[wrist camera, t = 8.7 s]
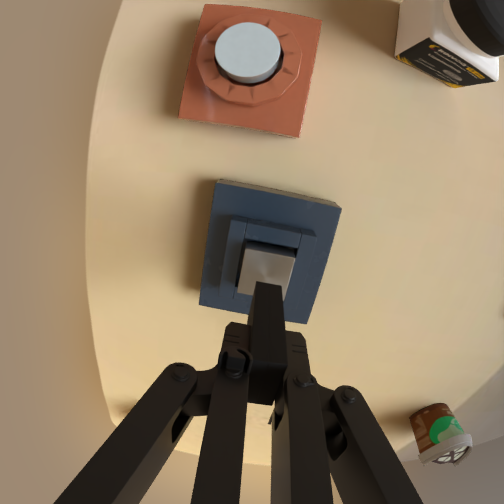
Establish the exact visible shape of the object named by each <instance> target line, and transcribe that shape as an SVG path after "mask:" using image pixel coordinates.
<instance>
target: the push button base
mask: <svg viewBox="0 0 504 504" xmlns="http://www.w3.org/2000/svg"><path fill="white" fill-rule="evenodd" d="M341 210H342V208H340V207H339V206H338V205H337V204H336V203H335V202H331V201H327V200H323V199H318V198H314V197H310V196H305V195H301V194H296V193H291V192H287V191H282V190H277V189H272V188H267V187H262V186H257V185H252V184H246V183H241V182H236V181H230V180H224V179H220V180H219V181H217V182H216V183H215V189H214V195H213V201H212V208H211V215H210V221H209V228H208V235H207V242H206V250H205V257H204V265H203V273H202V281H201V289H200V297H199V305H202V306H207V307H212V308H217V309H222V310H227V311H232V312H237V313H242V314H248V315H249V311H250V307H251V302H252V298H253V295H248V294H243V293H238V292H237V290H238V284H239V279H240V274H241V268H242V263H243V258H244V253H245V248H246V243H247V241H252V242H257V243H262V244H267V245H272V246H278V247H283V248H288V249H293V250H294V255H295V262H294V266H293V270H292V273H291V277H290V281H289V284H288V288H287V292H286V295H285V299H284V301H283V306H284V318H285V321H288V322H295V323H301V324H307V322H308V319H309V316H310V313H311V310H312V307H313V304H314V301H315V298H316V295H317V292H318V289H319V286H320V283H321V279H322V276H323V273H324V270H325V266H326V263H327V260H328V256H329V253H330V250H331V246H332V243H333V239H334V236H335V232H336V228H337V225H338V221H339V217H340V214H341Z"/></svg>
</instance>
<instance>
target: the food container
mask: <svg viewBox="0 0 504 504" xmlns="http://www.w3.org/2000/svg"><path fill="white" fill-rule="evenodd" d="M409 419H410V422H411V426H412V429H413V432H414V435H415V439H416V442H417V445H418V449H419V452H420V454H419V455H418V456H419V458H420V460H421V462H422V463H423V465H424V466H425V465H427V464H428V463H430V462H435V463H439V464H443V463H447V462H449V463H453V464H454V466H455V467H456V466H457V465H458V464H459V463H461V462H462V461H463V460H464V459H465V458H466V457H467V456H468V455H469V454H470V453H471V451H472V439H471V435H470V434H465V433H464V432H463V430H462V428H461V427H460V425H459V423H458V422H457V420H456V419H455V417H454V415H453V414H452V412H451V411H450V409H449V407H448V406H447V405H446V404H444V403H438V404H433V405H431V406H428V407H426V408H424V409H422V410H420V411H418V412H417V413H415V414H414V415H412V416H411V417H410V418H409Z"/></svg>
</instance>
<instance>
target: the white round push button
mask: <svg viewBox="0 0 504 504" xmlns="http://www.w3.org/2000/svg"><path fill="white" fill-rule="evenodd" d="M215 56H216V59H217V62H218V63H219V65H220V66H221V68H222V70H223V71H224V73H225V74H226V75H227V76H228V77H230V78H231V79H233V80H235V81H238V82H241V83H256V82H260V81H263V80H265V79H266V78H268V77H269V76H270V75H272V74H273V72H274V71H275V70H276V68H277V66H278V63H279V57H280V43H279V40H278V38H277V36H276V35H275V34H274V33H273V32H272V31H271V30H270V29H269V28H267V27H265V26H263V25H261V24H257V23H250V22H247V23H239V24H236V25H233V26H231V27H229V28H228V29H226V30H225V31H224V32H223V33H222V34H221V35H220V36H219V38H218V40H217V42H216V45H215Z"/></svg>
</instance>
